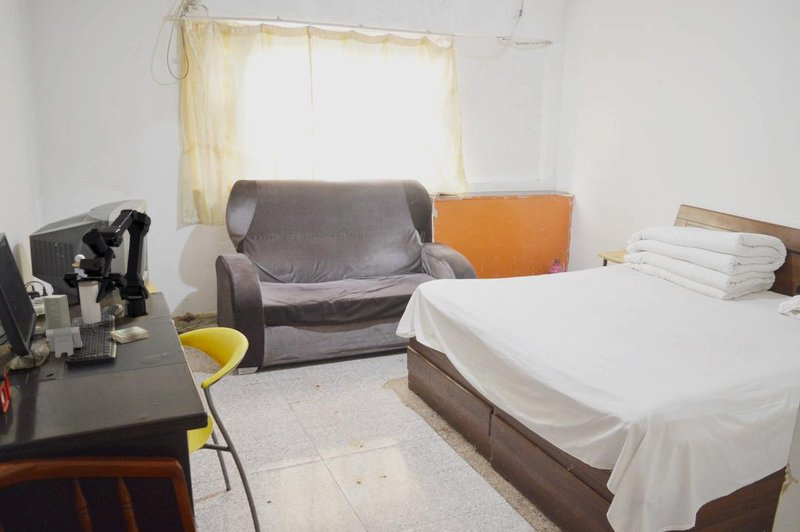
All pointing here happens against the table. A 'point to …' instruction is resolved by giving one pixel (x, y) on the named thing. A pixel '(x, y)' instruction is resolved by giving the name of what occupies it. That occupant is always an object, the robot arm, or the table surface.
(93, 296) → the tumbler
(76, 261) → the perfume bottle
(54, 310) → the skincare box
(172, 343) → the table surface
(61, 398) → the table surface
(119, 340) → the square tray
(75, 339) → the portable electronic device stand
